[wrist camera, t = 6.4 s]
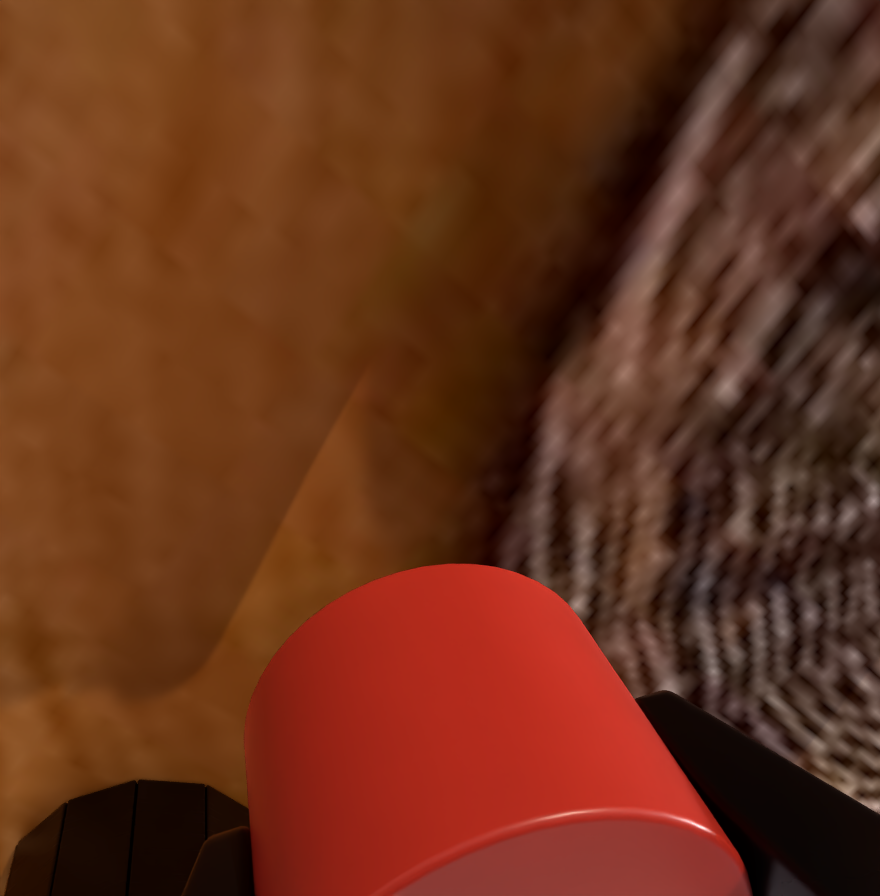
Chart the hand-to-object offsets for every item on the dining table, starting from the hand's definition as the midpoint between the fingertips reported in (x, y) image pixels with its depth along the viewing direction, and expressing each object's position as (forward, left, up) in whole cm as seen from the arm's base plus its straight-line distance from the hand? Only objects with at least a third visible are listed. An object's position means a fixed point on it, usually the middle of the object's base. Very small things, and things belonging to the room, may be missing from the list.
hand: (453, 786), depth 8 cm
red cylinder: (0, 0, -1) cm, 1 cm away
